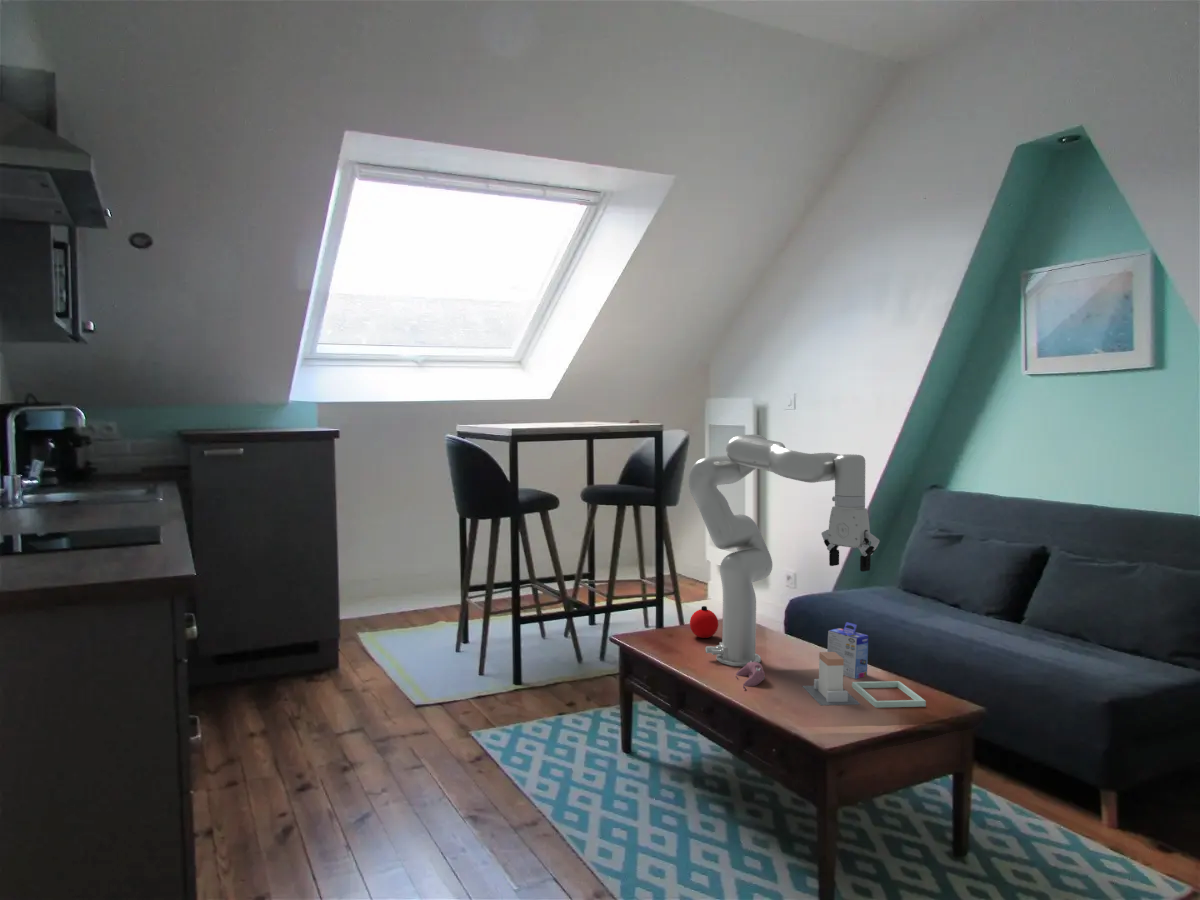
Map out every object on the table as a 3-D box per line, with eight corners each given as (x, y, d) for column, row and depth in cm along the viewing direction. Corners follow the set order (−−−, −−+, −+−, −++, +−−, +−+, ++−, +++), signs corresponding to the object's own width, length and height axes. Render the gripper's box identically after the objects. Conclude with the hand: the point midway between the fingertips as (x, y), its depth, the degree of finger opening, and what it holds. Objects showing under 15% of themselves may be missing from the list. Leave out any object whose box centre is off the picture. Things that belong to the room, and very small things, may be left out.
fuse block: (820, 710, 204) (821, 695, 204) (801, 690, 218) (802, 676, 218) (860, 709, 205) (861, 694, 205) (839, 689, 219) (839, 675, 219)
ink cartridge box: (868, 679, 227) (870, 626, 226) (855, 683, 224) (857, 629, 223) (838, 670, 235) (840, 618, 234) (825, 673, 232) (827, 621, 231)
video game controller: (757, 696, 218) (770, 672, 218) (742, 688, 217) (754, 664, 217) (748, 683, 227) (760, 660, 227) (733, 676, 227) (745, 653, 227)
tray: (875, 712, 203) (875, 702, 203) (851, 691, 217) (852, 682, 217) (925, 711, 204) (925, 700, 204) (898, 690, 218) (899, 680, 218)
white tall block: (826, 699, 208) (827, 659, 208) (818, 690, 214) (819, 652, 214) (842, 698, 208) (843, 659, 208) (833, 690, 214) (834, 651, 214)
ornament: (724, 637, 266) (724, 606, 265) (705, 643, 260) (706, 611, 259) (702, 632, 273) (702, 601, 272) (683, 637, 266) (684, 606, 266)
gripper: (813, 500, 222) (813, 564, 223) (869, 506, 208) (868, 574, 209) (832, 498, 226) (831, 561, 227) (887, 504, 212) (887, 571, 213)
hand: (849, 568), depth 218 cm, fingers open, 9 cm apart
